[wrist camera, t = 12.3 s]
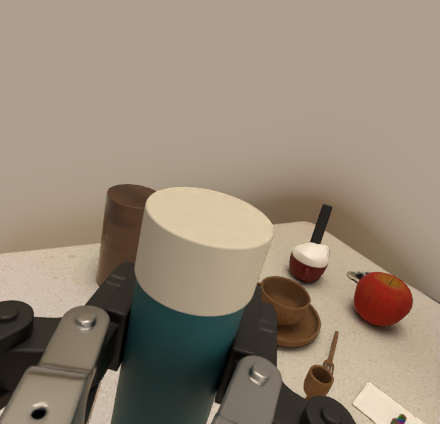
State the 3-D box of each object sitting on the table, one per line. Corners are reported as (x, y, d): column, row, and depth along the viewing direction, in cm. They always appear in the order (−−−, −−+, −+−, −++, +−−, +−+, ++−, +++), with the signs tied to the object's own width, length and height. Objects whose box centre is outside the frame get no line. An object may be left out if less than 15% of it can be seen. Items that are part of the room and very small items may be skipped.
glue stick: (159, 544, 12) (249, 266, 8) (79, 484, 13) (116, 207, 8) (204, 454, 15) (288, 217, 10) (136, 411, 16) (186, 177, 11)
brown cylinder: (127, 303, 47) (143, 214, 42) (85, 280, 49) (94, 192, 43) (157, 278, 53) (174, 198, 48) (118, 259, 55) (130, 180, 50)
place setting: (343, 325, 53) (359, 293, 51) (317, 436, 36) (339, 395, 34) (237, 274, 59) (247, 243, 56) (170, 349, 42) (180, 309, 39)
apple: (361, 296, 62) (380, 258, 59) (405, 326, 57) (428, 286, 54) (337, 309, 57) (357, 268, 54) (384, 344, 52) (408, 301, 49)
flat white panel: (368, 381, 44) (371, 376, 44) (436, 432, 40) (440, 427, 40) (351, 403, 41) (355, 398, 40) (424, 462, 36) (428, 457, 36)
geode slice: (391, 301, 63) (396, 292, 62) (345, 282, 65) (349, 274, 64) (389, 283, 69) (393, 274, 68) (347, 266, 71) (351, 258, 70)
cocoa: (306, 294, 59) (333, 229, 54) (274, 273, 62) (297, 211, 57) (330, 276, 66) (356, 218, 61) (301, 258, 69) (323, 202, 64)
